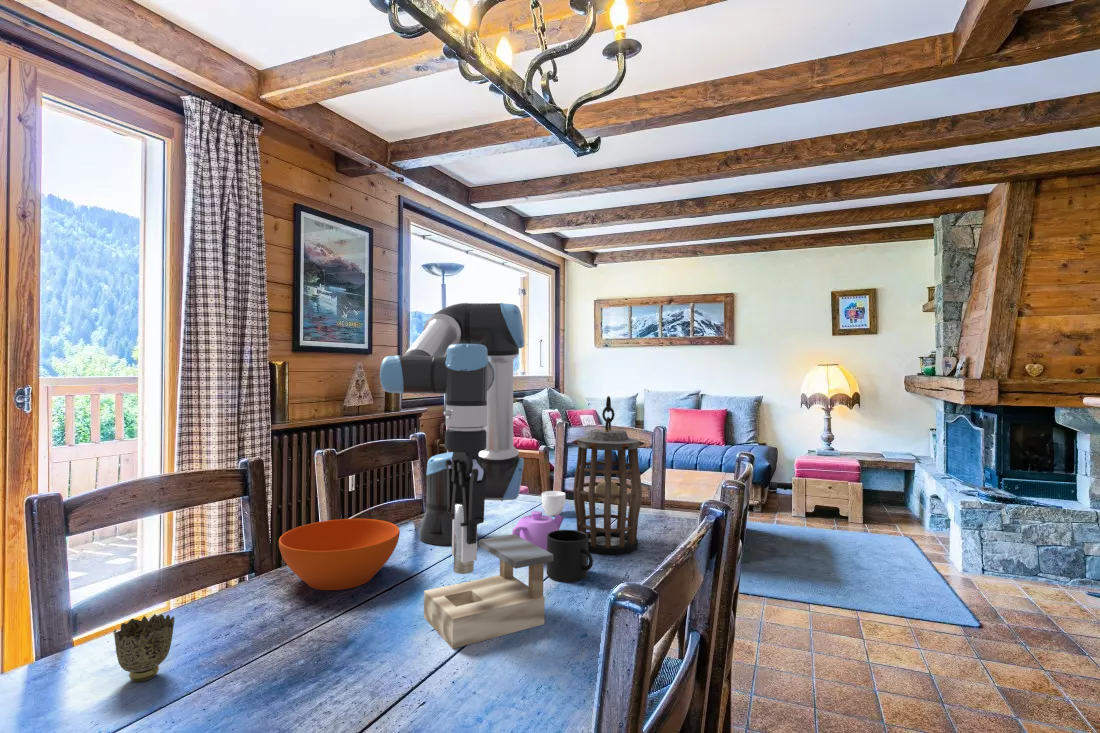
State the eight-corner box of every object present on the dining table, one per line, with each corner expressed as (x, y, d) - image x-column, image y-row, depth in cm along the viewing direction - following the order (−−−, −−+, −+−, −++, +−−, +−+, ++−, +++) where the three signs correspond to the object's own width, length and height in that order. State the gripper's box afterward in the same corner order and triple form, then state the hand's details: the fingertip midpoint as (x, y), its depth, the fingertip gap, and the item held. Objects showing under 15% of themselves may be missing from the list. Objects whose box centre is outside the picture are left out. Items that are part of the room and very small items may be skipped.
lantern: (636, 561, 140) (638, 398, 140) (561, 552, 146) (563, 396, 146) (648, 539, 158) (650, 395, 158) (581, 532, 164) (583, 393, 165)
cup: (536, 515, 183) (536, 494, 183) (553, 508, 191) (553, 488, 191) (556, 518, 179) (556, 497, 179) (573, 512, 187) (573, 491, 187)
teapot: (582, 548, 149) (582, 508, 149) (535, 569, 133) (536, 524, 133) (540, 538, 158) (541, 500, 158) (491, 557, 141) (492, 514, 142)
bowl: (421, 578, 127) (421, 533, 127) (309, 612, 109) (310, 560, 109) (364, 552, 144) (364, 512, 144) (259, 578, 126) (259, 533, 126)
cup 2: (134, 665, 89) (134, 613, 89) (183, 663, 89) (184, 612, 89) (100, 692, 81) (101, 636, 81) (155, 690, 82) (155, 634, 82)
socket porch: (422, 616, 107) (423, 548, 108) (513, 595, 118) (514, 534, 118) (453, 650, 95) (454, 573, 95) (552, 623, 105) (553, 554, 105)
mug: (578, 589, 122) (579, 547, 122) (538, 575, 130) (538, 535, 130) (605, 577, 129) (605, 537, 129) (565, 564, 137) (565, 527, 137)
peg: (450, 569, 104) (451, 503, 104) (468, 565, 106) (469, 501, 106) (458, 575, 101) (459, 507, 101) (476, 571, 103) (478, 505, 103)
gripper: (430, 425, 109) (428, 548, 109) (465, 433, 95) (463, 575, 94) (466, 424, 113) (464, 542, 113) (505, 431, 99) (503, 567, 98)
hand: (464, 557), depth 104 cm, fingers closed on peg, 3 cm apart
